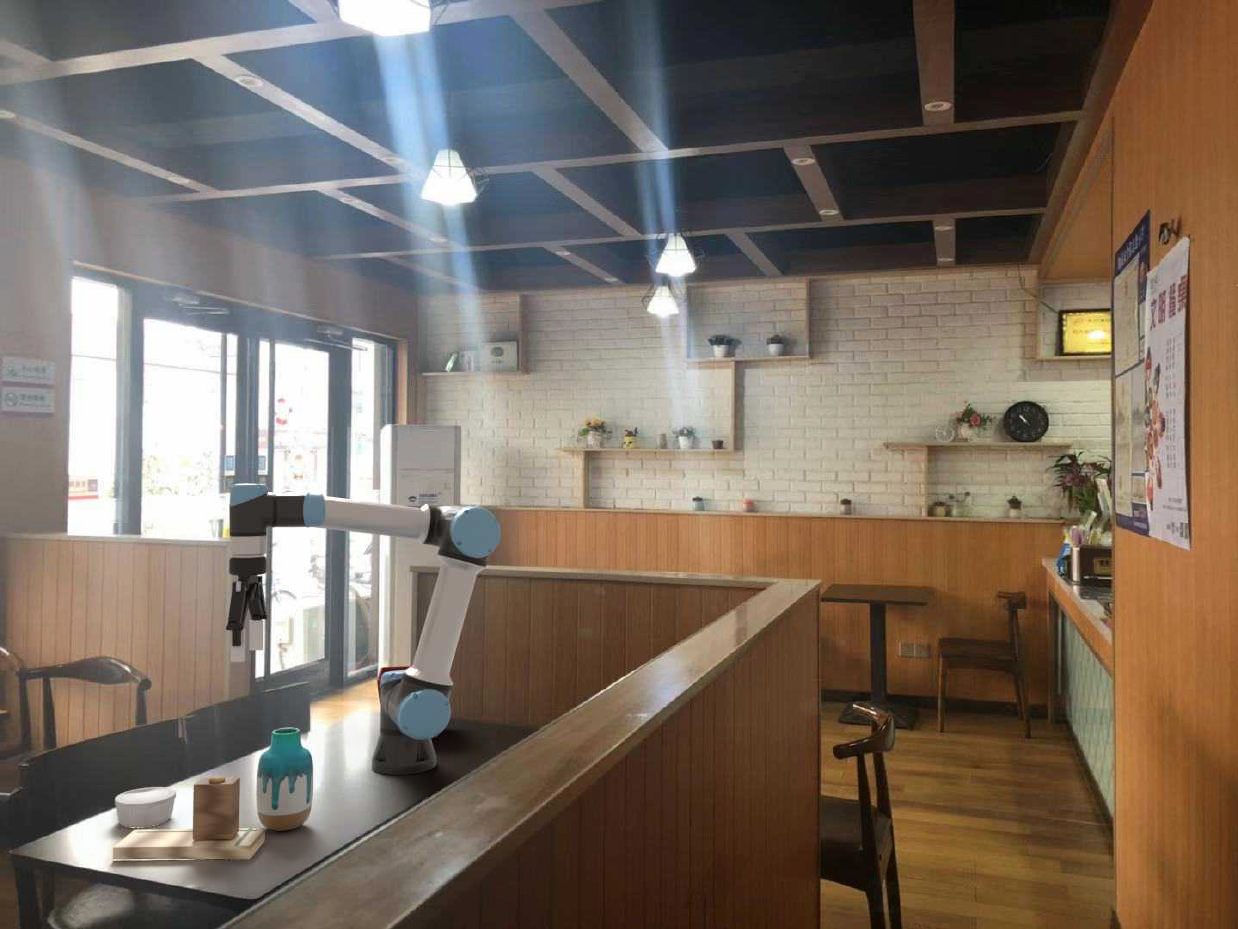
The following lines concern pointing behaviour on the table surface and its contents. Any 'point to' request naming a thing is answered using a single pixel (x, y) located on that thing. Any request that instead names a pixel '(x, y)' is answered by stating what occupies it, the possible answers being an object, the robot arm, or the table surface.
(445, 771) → the table surface
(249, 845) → the board
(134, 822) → the ramekin
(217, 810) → the tan boxy wooden piece
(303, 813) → the vase
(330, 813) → the table surface
